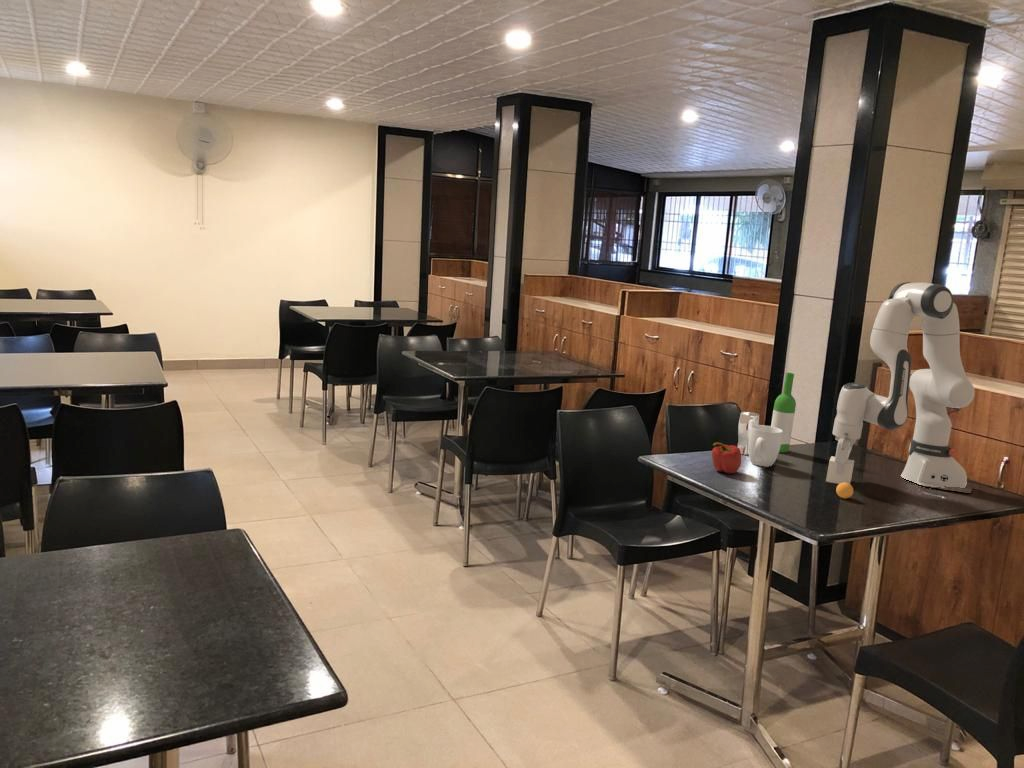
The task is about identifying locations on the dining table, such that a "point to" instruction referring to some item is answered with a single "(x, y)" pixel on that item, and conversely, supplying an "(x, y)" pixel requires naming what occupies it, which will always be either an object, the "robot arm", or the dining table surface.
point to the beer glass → (746, 430)
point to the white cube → (846, 472)
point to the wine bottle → (785, 413)
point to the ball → (844, 490)
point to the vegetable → (726, 458)
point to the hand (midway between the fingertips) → (840, 470)
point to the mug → (764, 444)
